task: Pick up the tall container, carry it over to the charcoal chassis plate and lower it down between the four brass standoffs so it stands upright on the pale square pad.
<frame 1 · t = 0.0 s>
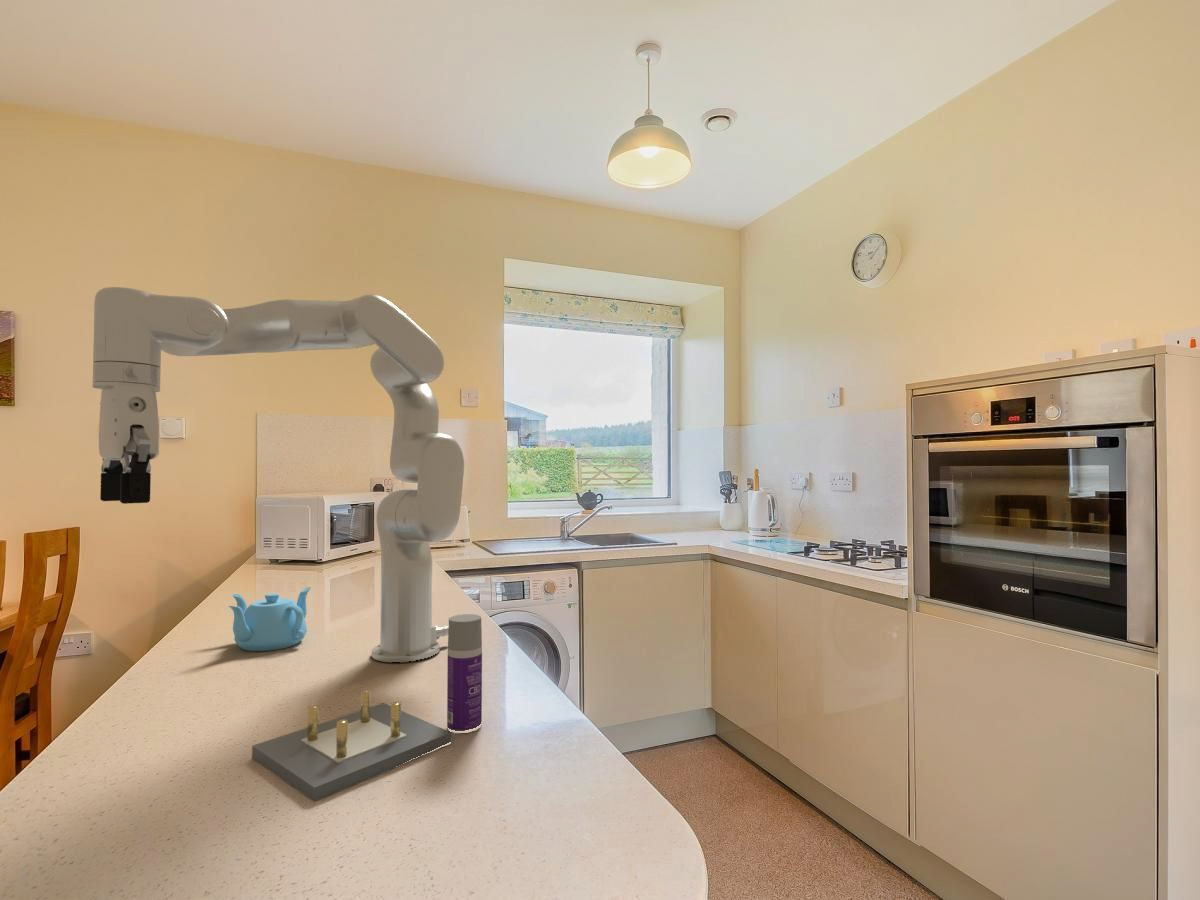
hand: (124, 501, 86), 31 cm above the countertop, tool pointing down, fingers open, 9 cm apart
container: (464, 728, 86), on the countertop
standoffs: (354, 721, 79), on the chassis, point 4 cm above the countertop
chassis: (354, 750, 78), on the countertop
teapot: (267, 645, 127), on the countertop
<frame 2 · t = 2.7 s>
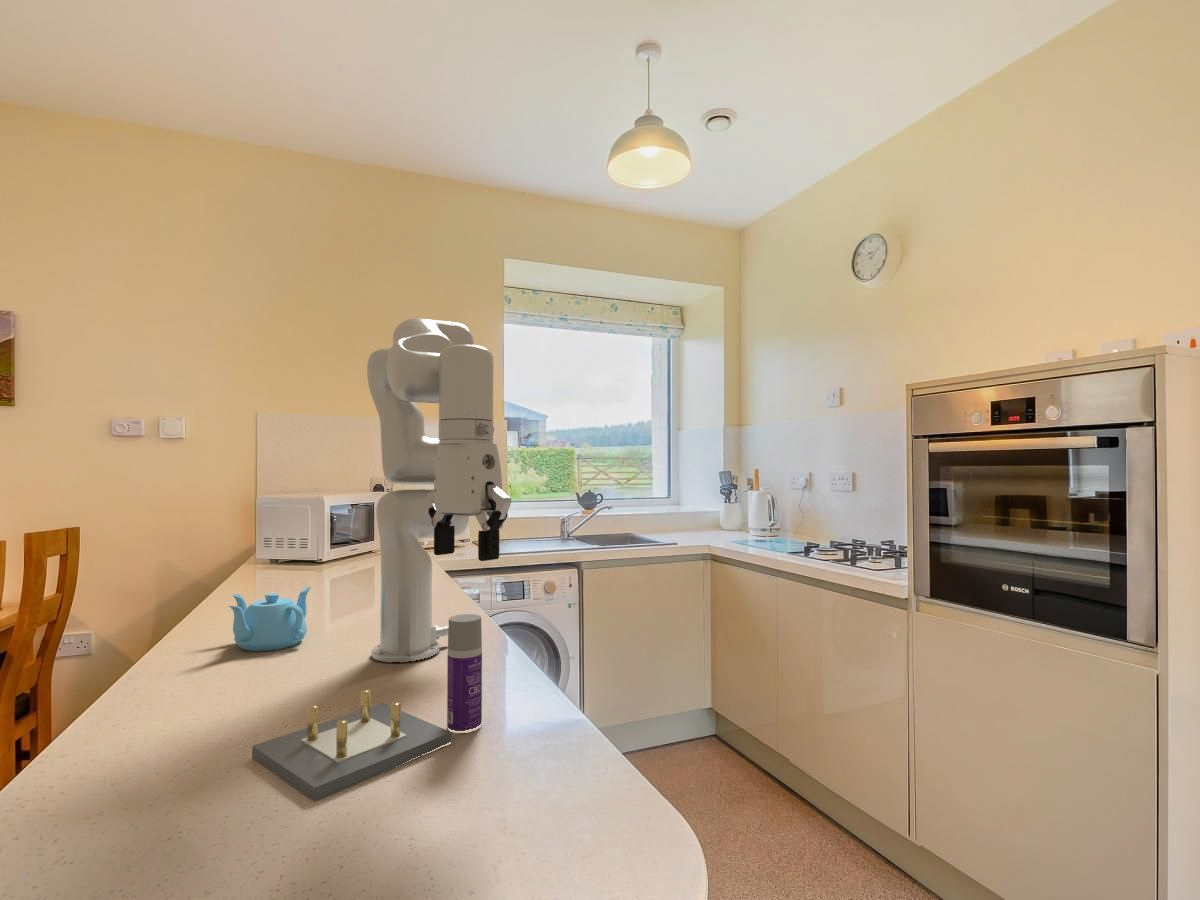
hand: (465, 556, 86), 23 cm above the countertop, tool pointing down, fingers open, 9 cm apart
nothing on the countertop moved.
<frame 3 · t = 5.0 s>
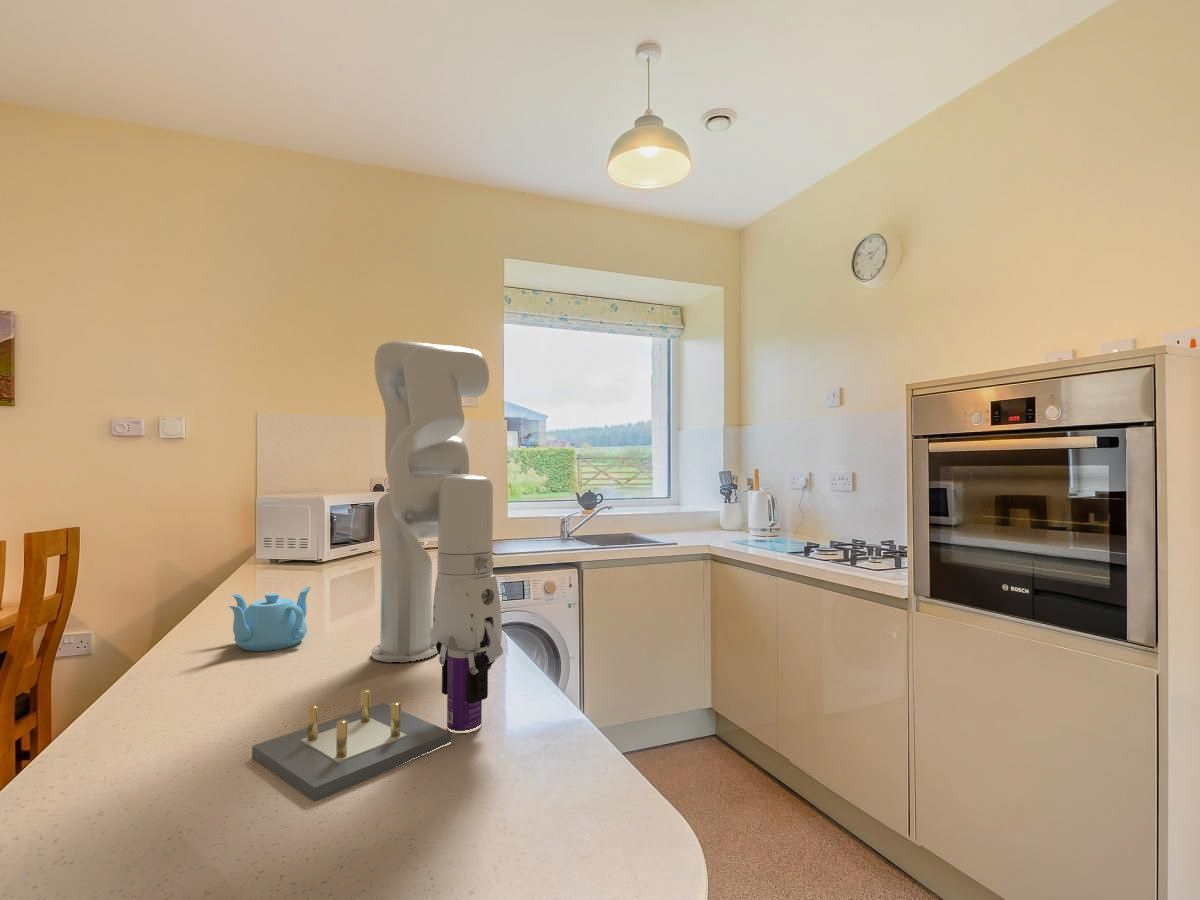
hand: (464, 694, 86), 4 cm above the countertop, tool pointing down, fingers closed on container, 4 cm apart
container: (464, 728, 86), on the countertop, touching gripper
everything else where it was.
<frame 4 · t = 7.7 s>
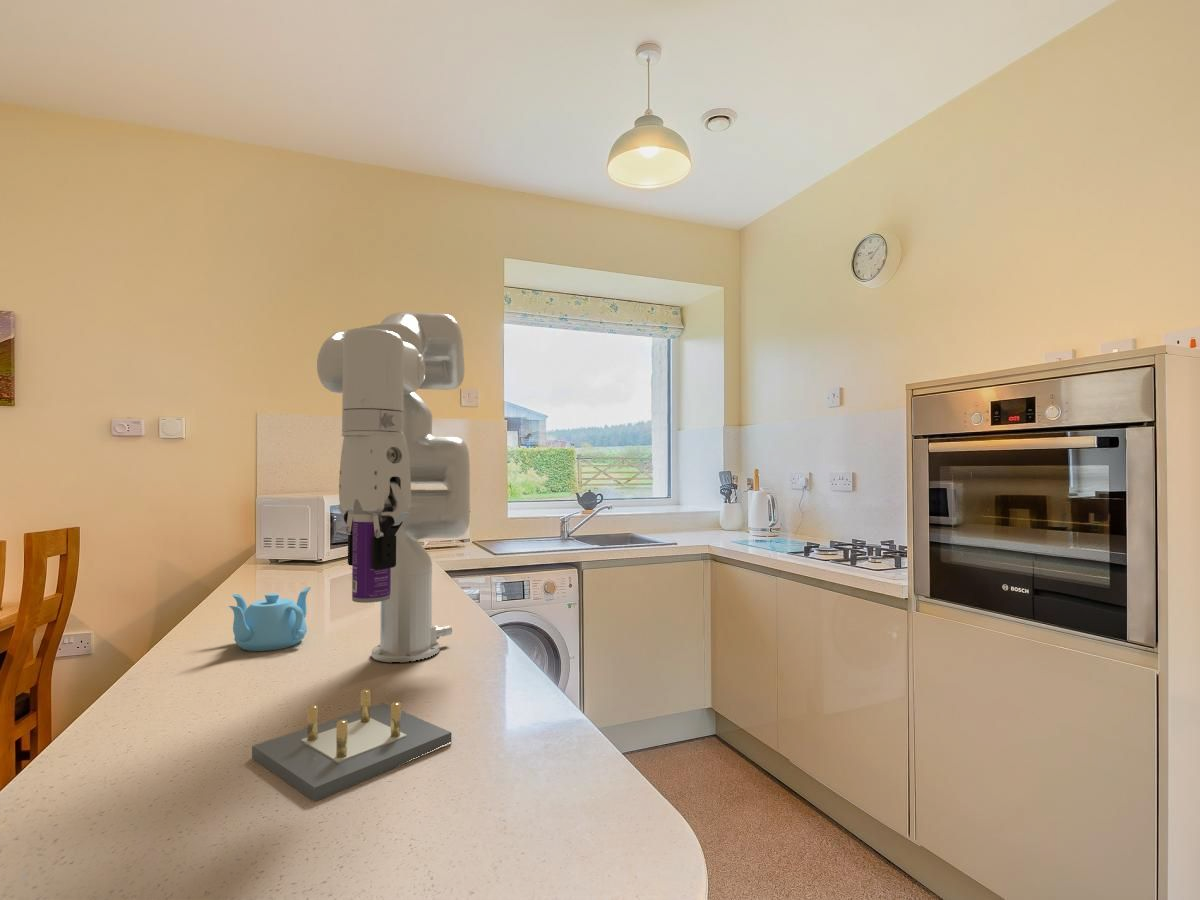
hand: (371, 564, 80), 23 cm above the countertop, tool pointing down, fingers closed on container, 4 cm apart
container: (371, 600, 80), point 19 cm above the countertop, touching gripper
everything else where it was.
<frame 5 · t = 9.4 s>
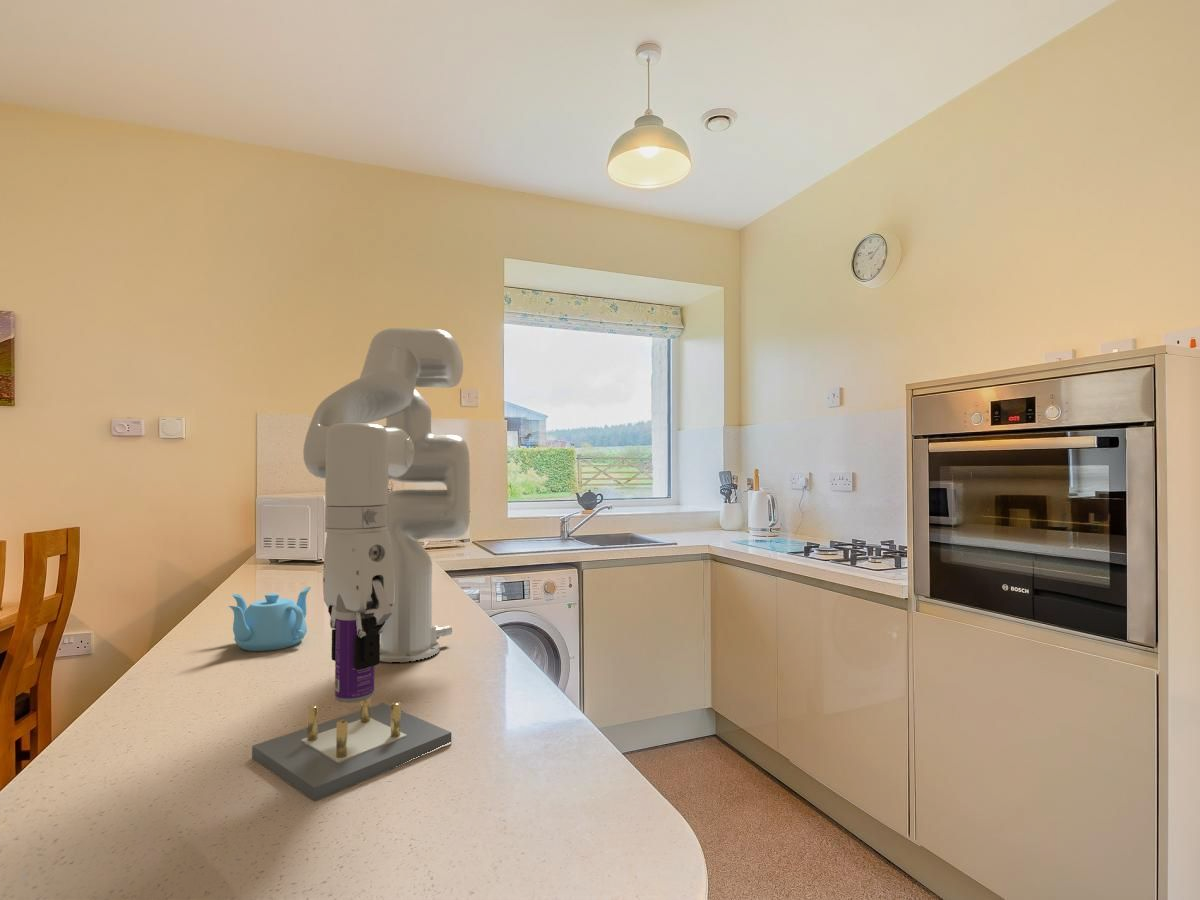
hand: (355, 661, 79), 11 cm above the countertop, tool pointing down, fingers closed on container, 4 cm apart
container: (354, 697, 79), point 7 cm above the countertop, touching gripper
everything else where it was.
when the fingers open (7 cm above the countertop, at t = 10.6 s): container drops 1 cm, resting on chassis.
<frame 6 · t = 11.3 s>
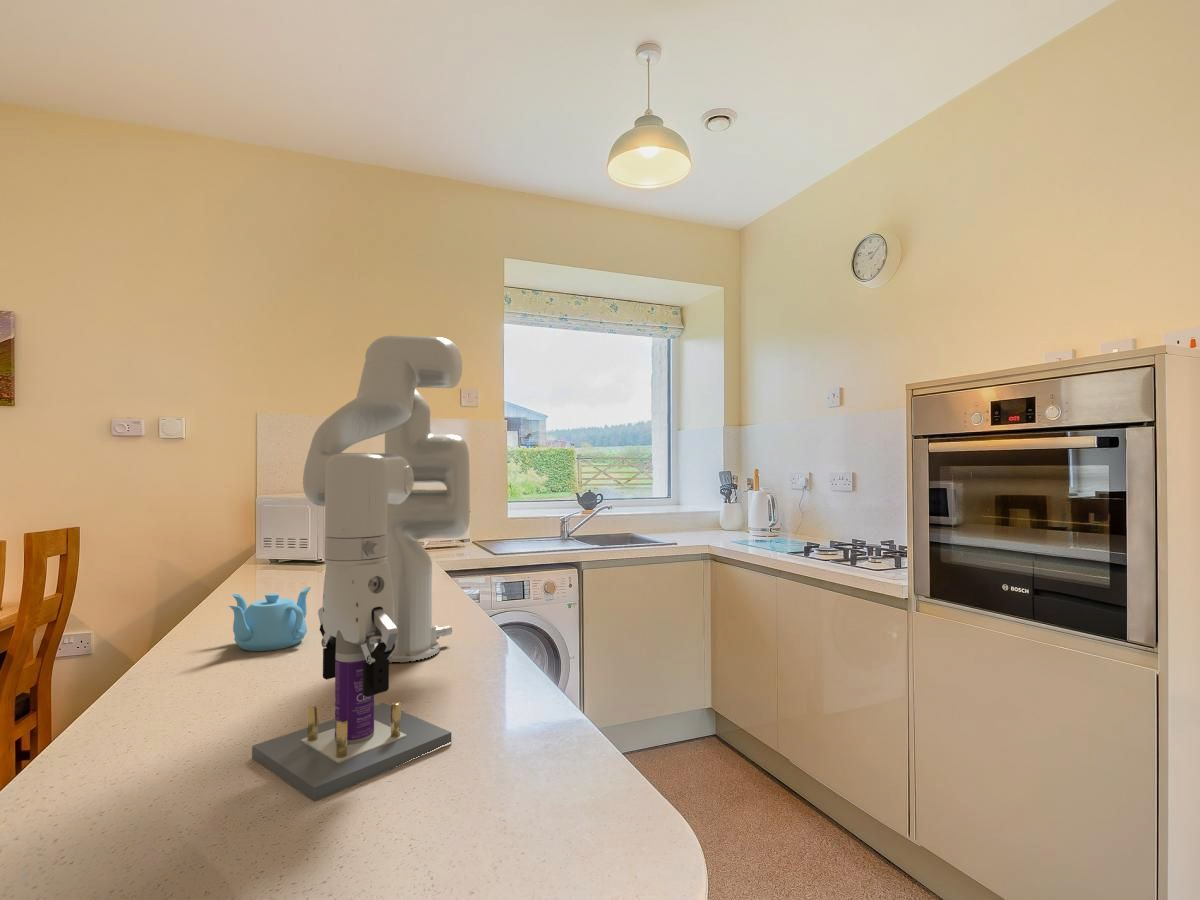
hand: (354, 684, 79), 8 cm above the countertop, tool pointing down, fingers open, 9 cm apart
container: (354, 738, 79), point 2 cm above the countertop, touching chassis
everything else where it was.
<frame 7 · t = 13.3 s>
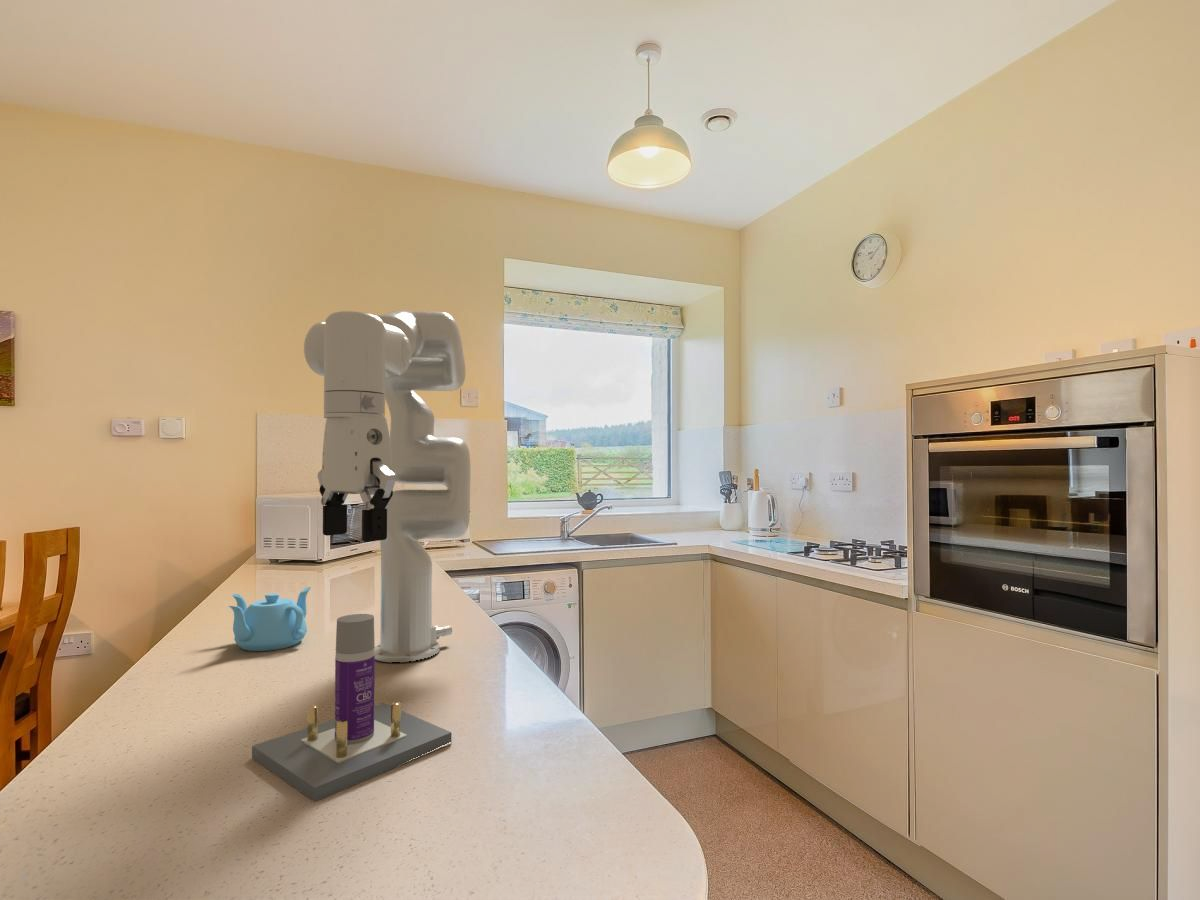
hand: (354, 537, 82), 27 cm above the countertop, tool pointing down, fingers open, 9 cm apart
nothing on the countertop moved.
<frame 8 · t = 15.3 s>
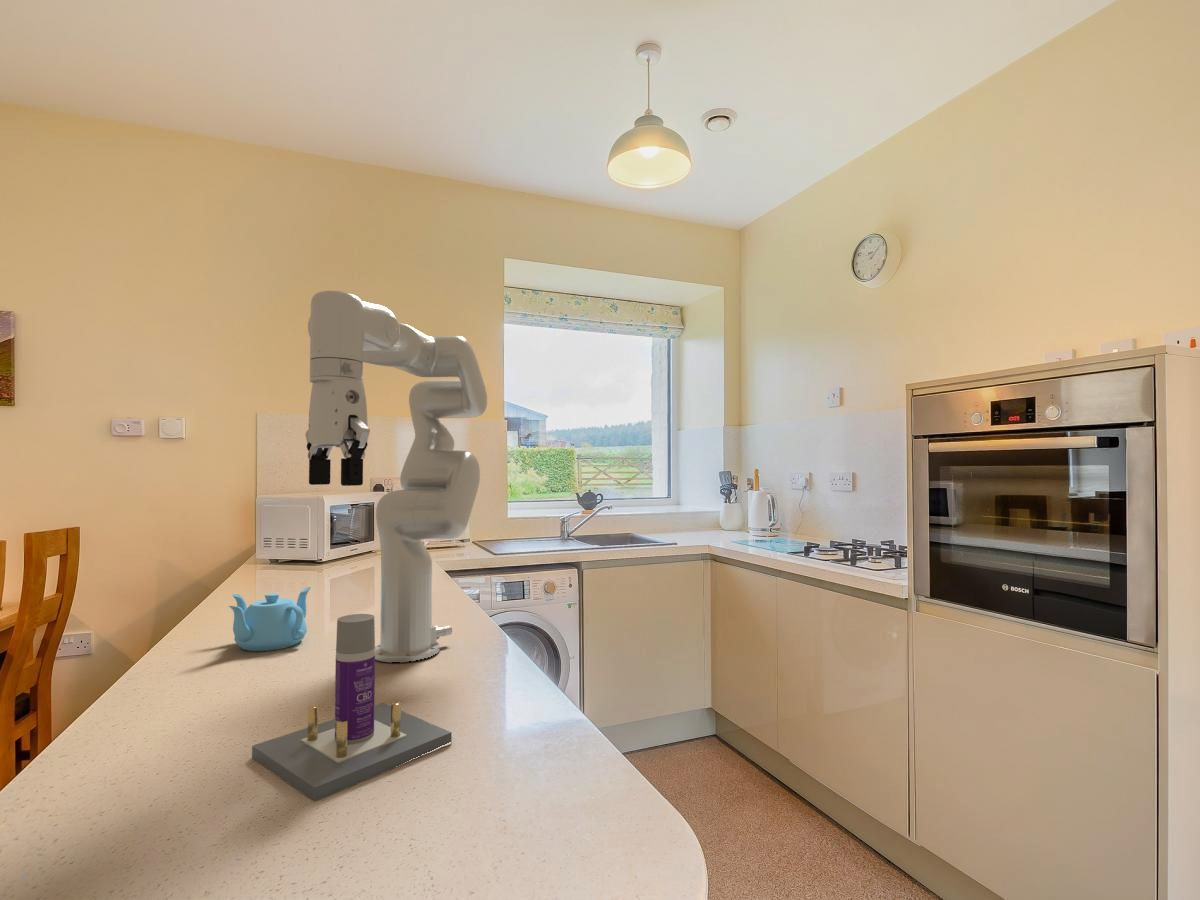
hand: (335, 484, 95), 33 cm above the countertop, tool pointing down, fingers open, 9 cm apart
nothing on the countertop moved.
at the end: container 0.1 cm off-centre on the chassis, point 1.5 cm above the chassis's base; container tilted 0°; the gripper is holding nothing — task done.
